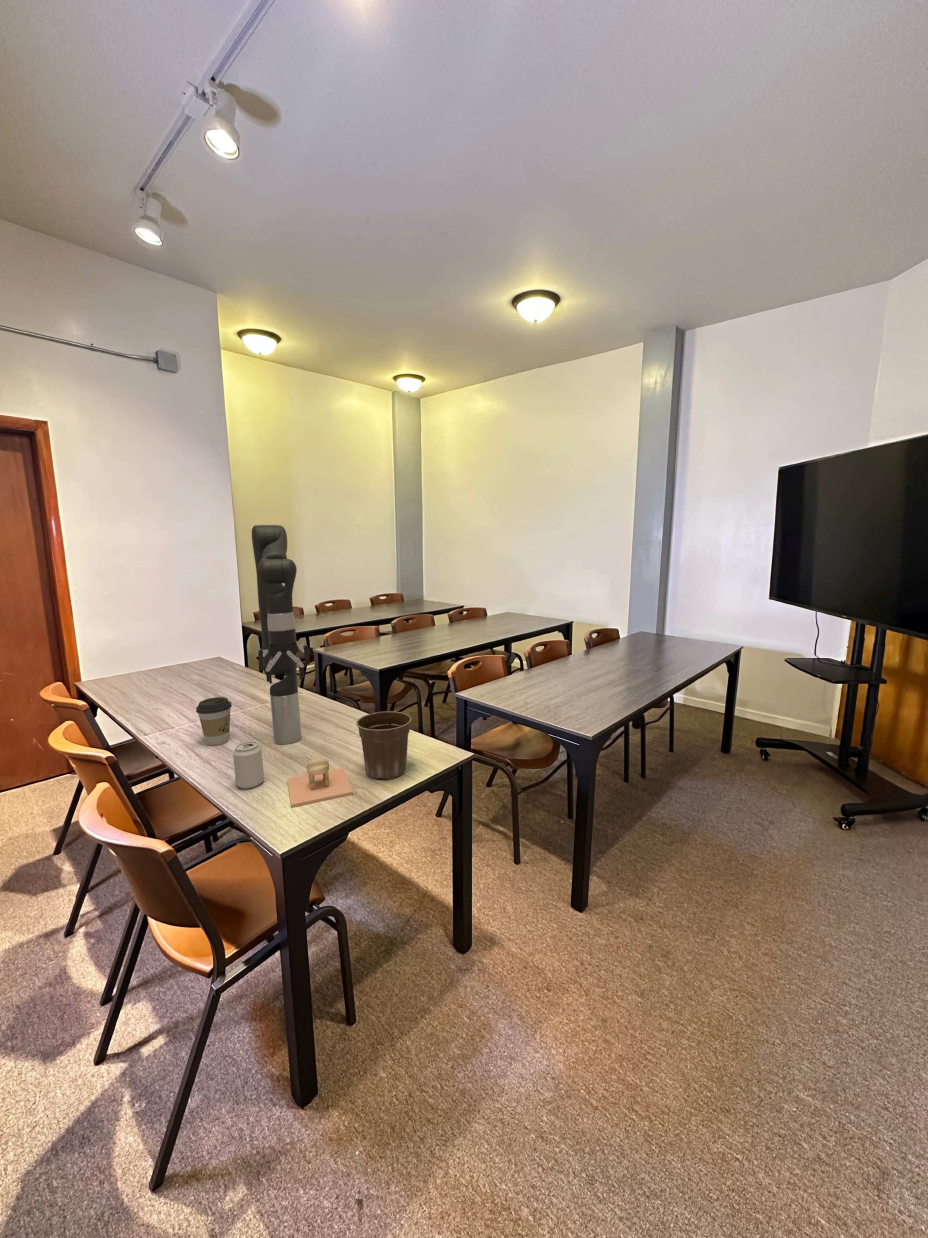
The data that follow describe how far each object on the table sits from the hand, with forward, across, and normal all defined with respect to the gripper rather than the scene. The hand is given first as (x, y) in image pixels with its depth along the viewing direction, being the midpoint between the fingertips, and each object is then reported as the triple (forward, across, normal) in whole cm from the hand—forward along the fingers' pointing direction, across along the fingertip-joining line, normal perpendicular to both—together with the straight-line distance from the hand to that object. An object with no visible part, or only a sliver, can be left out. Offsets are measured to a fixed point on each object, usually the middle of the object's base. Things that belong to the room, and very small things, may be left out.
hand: (286, 681), depth 145 cm
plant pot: (+28, -26, +13) cm, 41 cm away
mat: (+28, -6, +15) cm, 32 cm away
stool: (+27, -6, +15) cm, 32 cm away
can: (+28, +12, +4) cm, 31 cm away
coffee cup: (+28, +23, -35) cm, 51 cm away
